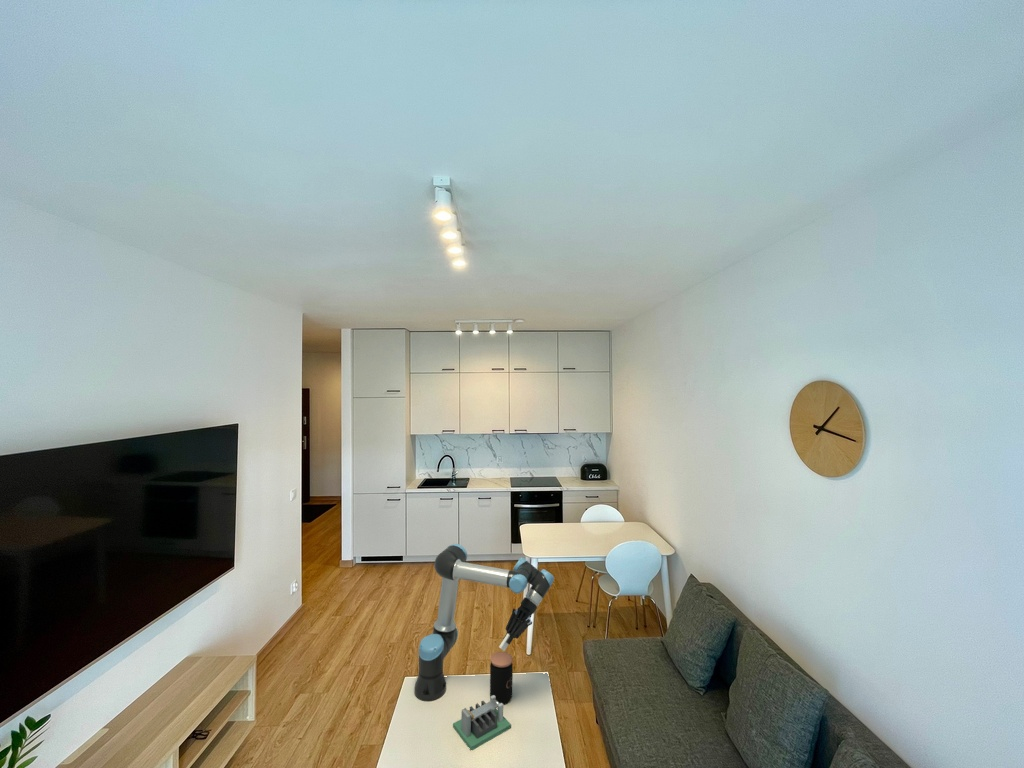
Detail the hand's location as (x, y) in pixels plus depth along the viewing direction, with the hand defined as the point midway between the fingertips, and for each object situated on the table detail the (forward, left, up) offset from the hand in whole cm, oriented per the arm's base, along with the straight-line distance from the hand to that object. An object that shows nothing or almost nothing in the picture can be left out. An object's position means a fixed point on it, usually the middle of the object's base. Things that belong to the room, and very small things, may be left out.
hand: (501, 649), depth 185 cm
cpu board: (+2, -11, -28) cm, 30 cm away
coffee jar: (-8, +6, -28) cm, 30 cm away
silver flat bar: (+2, -10, -22) cm, 24 cm away
